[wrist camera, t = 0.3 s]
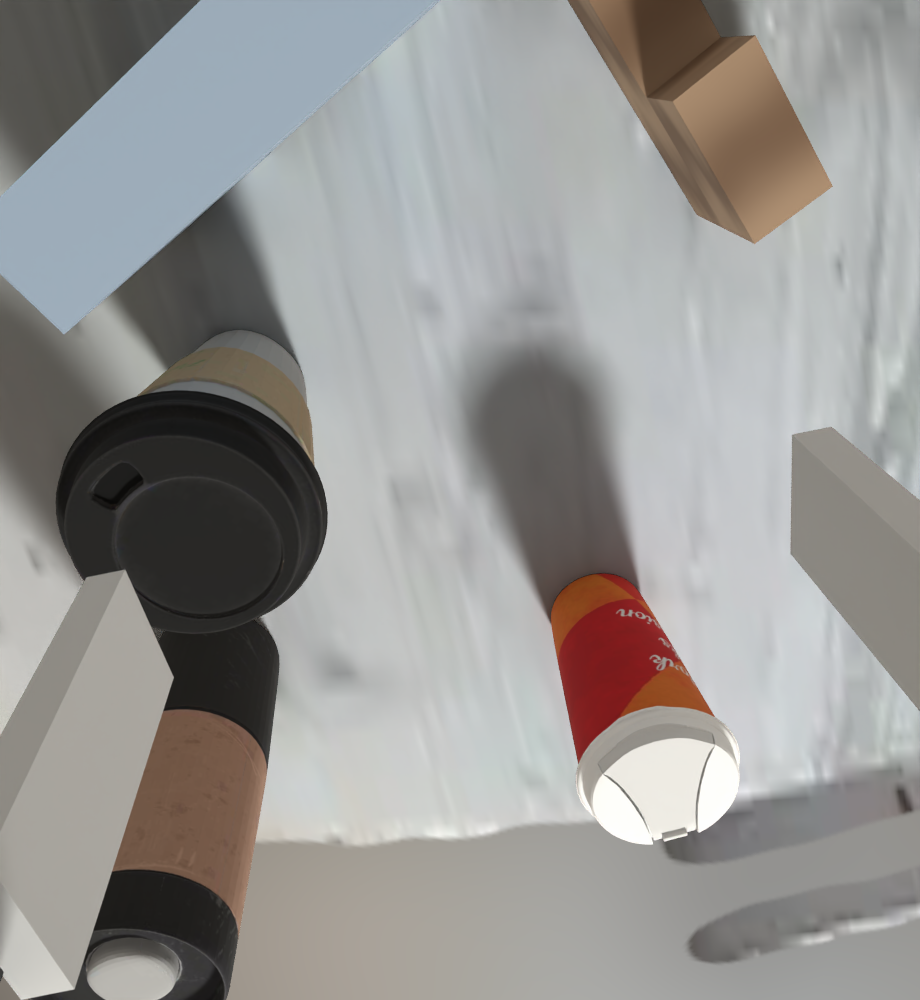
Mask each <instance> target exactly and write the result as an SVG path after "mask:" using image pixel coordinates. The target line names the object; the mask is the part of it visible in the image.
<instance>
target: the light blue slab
mask: <svg viewBox="0 0 920 1000" xmlns="http://www.w3.org/2000/svg"><path fill="white" fill-rule="evenodd" d="M439 1H440V0H200V1H199V2H198V3H197V4H196V5H195V6H194V7H193V8H192V9H191V10H190V11H189V12H188V13H187V14H186V15H185V16H184V17H183V18H182V19H181V20H180V21H179V22H178V23H177V24H176V25H175V26H174V27H173V28H172V29H171V30H170V31H169V32H168V33H167V34H166V35H165V36H164V37H163V38H162V39H161V40H159V41H158V42H157V43H156V44H155V45H154V46H153V47H152V48H151V49H150V50H149V51H148V52H147V53H146V54H145V55H144V56H143V57H142V58H141V59H140V60H139V61H138V62H137V63H136V64H135V65H134V66H133V67H132V68H131V69H130V70H129V71H128V72H127V73H126V74H125V75H124V76H123V77H122V78H121V79H120V80H119V81H118V82H117V83H116V84H115V85H114V86H113V87H112V88H111V89H110V90H109V91H108V92H106V93H105V94H104V95H103V96H102V97H101V98H100V99H99V100H98V101H97V102H96V103H95V104H94V105H93V106H92V107H91V108H90V109H89V110H88V111H87V112H86V113H85V114H84V115H83V116H82V117H81V118H80V119H79V120H78V121H77V122H76V123H75V124H74V125H73V126H72V127H71V128H70V129H69V130H68V131H67V132H66V133H65V134H64V135H63V136H62V137H61V138H60V139H59V140H58V141H57V142H56V143H54V144H53V145H52V146H51V147H50V148H49V149H48V150H47V151H46V152H45V153H44V154H43V155H42V156H41V157H40V158H39V159H38V160H37V161H36V162H35V163H34V164H33V165H32V166H31V167H30V168H29V169H28V170H27V171H26V172H25V173H24V174H23V175H22V176H21V177H20V178H19V179H18V180H17V181H16V182H15V183H14V184H13V185H12V186H11V187H10V188H9V189H8V190H7V191H6V192H5V193H4V194H3V195H1V196H0V274H1V275H2V276H3V277H4V278H5V279H6V280H7V281H8V282H9V283H10V284H11V285H12V286H13V287H14V288H15V289H17V290H18V291H19V292H20V293H21V294H22V295H23V296H24V297H25V298H26V299H27V300H28V301H29V302H30V303H31V304H32V305H33V306H34V307H36V308H37V309H38V310H39V311H40V312H41V313H42V314H43V315H44V316H45V317H46V318H47V319H48V320H49V321H50V322H51V323H52V324H53V325H55V326H56V327H57V328H58V329H59V330H60V331H61V332H62V333H63V334H65V333H66V332H67V331H69V330H70V329H71V328H72V327H73V326H74V325H76V324H77V323H78V322H79V321H80V320H81V319H83V318H84V317H85V316H86V315H87V314H88V313H89V312H91V311H92V310H93V309H94V308H95V307H96V306H98V305H99V304H100V303H101V302H102V301H103V300H104V299H106V298H107V297H108V296H109V295H110V294H111V293H113V292H114V291H115V290H116V289H117V288H118V287H120V286H121V285H122V284H123V283H124V282H125V281H126V280H128V279H129V278H130V277H131V276H132V275H133V274H135V273H136V272H137V271H138V270H139V269H140V268H141V267H143V266H144V265H145V264H146V263H147V262H148V261H150V260H151V259H152V258H153V257H154V256H155V255H156V254H158V253H159V252H160V251H161V250H162V249H163V248H165V247H166V246H167V245H168V244H169V243H170V242H172V241H173V240H174V239H175V238H176V237H177V236H178V235H180V234H181V233H182V232H183V231H184V230H185V229H186V228H187V227H189V226H190V225H191V224H192V223H193V222H194V221H195V220H196V219H197V218H199V217H200V216H201V215H202V214H203V213H204V212H205V211H206V210H207V209H209V208H210V207H211V206H212V205H213V204H214V203H215V202H216V201H217V200H219V199H220V198H221V197H222V196H223V195H224V194H225V193H226V192H227V191H229V190H230V189H231V188H232V187H233V186H234V185H235V184H236V183H237V182H239V181H240V180H241V179H242V178H243V177H244V176H245V175H246V174H247V173H249V172H250V171H251V170H252V169H253V168H254V167H255V166H256V165H257V164H259V163H260V162H261V161H262V160H263V159H264V158H265V157H266V156H267V155H269V154H270V153H271V151H272V150H273V149H275V148H276V147H277V146H278V145H279V144H280V143H281V142H282V141H283V140H285V139H286V138H287V137H288V136H289V135H290V134H291V133H292V132H293V131H295V130H296V129H297V128H298V127H299V126H300V125H301V124H302V123H303V122H305V121H306V120H307V119H308V118H309V117H310V116H311V115H312V114H313V113H315V112H316V111H317V110H318V109H319V108H320V107H321V106H322V105H323V104H325V103H326V102H327V101H328V100H329V99H330V98H331V97H332V96H333V95H335V94H336V93H337V92H338V91H339V90H340V89H341V88H342V87H343V86H345V85H346V84H347V83H348V82H349V81H350V80H351V79H352V78H353V77H355V76H356V75H357V74H359V73H360V72H361V71H362V70H363V69H364V68H365V67H366V66H368V65H369V64H370V63H371V62H372V61H373V60H374V59H375V58H376V57H378V56H379V55H380V54H381V53H382V52H383V51H384V50H385V49H386V48H388V47H389V46H390V45H391V44H392V43H393V42H394V41H395V40H396V39H398V38H399V37H400V36H401V35H402V34H403V33H404V32H405V31H406V30H408V29H409V28H410V27H411V26H412V25H413V24H414V23H415V22H416V21H418V20H419V19H420V18H421V17H422V16H423V15H424V14H425V13H426V12H428V11H429V10H430V9H431V8H432V7H433V6H434V5H435V4H436V3H438V2H439Z"/></svg>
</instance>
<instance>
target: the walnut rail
mask: <svg viewBox="0 0 920 1000" xmlns="http://www.w3.org/2000/svg"><path fill="white" fill-rule="evenodd" d="M568 2H569V3H570V5H571V7H572V8H573V10H574V12H575V13H576V15H577V17H578V18H579V20H580V22H581V23H582V25H583V26H584V28H585V30H586V31H587V33H588V35H589V36H590V38H591V40H592V41H593V43H594V45H595V46H596V48H597V50H598V51H599V53H600V55H601V56H602V58H603V60H604V61H605V63H606V65H607V66H608V68H609V70H610V71H611V73H612V75H613V76H614V78H615V80H616V81H617V83H618V85H619V86H620V88H621V90H622V91H623V93H624V95H625V96H626V98H627V100H628V101H629V103H630V105H631V106H632V108H633V110H634V111H635V113H636V115H637V116H638V118H639V119H640V121H641V123H642V124H643V126H644V128H645V129H646V131H647V133H648V134H649V136H650V138H651V139H652V141H653V143H654V144H655V146H656V148H657V149H658V151H659V153H660V154H661V156H662V158H663V159H664V161H665V163H666V164H667V166H668V168H669V169H670V171H671V173H672V174H673V176H674V178H675V179H676V181H677V183H678V184H679V186H680V188H681V189H682V191H683V193H684V194H685V196H686V198H687V199H688V201H689V203H690V204H691V206H692V207H693V209H694V211H695V212H696V214H697V215H698V216H700V217H702V218H704V219H706V220H708V221H710V222H712V223H714V224H716V225H718V226H720V227H722V228H724V229H726V230H728V231H730V232H732V233H734V234H736V235H738V236H740V237H742V238H744V239H746V240H748V241H750V242H752V243H754V244H755V243H756V242H758V241H759V240H760V239H762V238H763V237H765V236H766V235H767V234H769V233H770V232H771V231H773V230H774V229H775V228H777V227H778V226H779V225H781V224H782V223H784V222H785V221H786V220H788V219H789V218H790V217H792V216H793V215H794V214H796V213H797V212H798V211H800V210H801V209H803V208H804V207H805V206H807V205H808V204H809V203H811V202H812V201H813V200H815V199H816V198H817V197H819V196H820V195H822V194H823V193H824V192H826V191H827V190H828V189H830V188H831V187H832V184H831V182H830V180H829V178H828V176H827V174H826V172H825V170H824V168H823V167H822V165H821V163H820V161H819V159H818V157H817V155H816V153H815V151H814V149H813V147H812V145H811V143H810V141H809V139H808V137H807V135H806V133H805V131H804V129H803V127H802V125H801V124H800V122H799V120H798V118H797V116H796V114H795V112H794V110H793V108H792V106H791V104H790V102H789V100H788V98H787V96H786V94H785V92H784V90H783V88H782V86H781V84H780V83H779V81H778V79H777V77H776V75H775V73H774V71H773V69H772V67H771V65H770V63H769V61H768V59H767V57H766V55H765V53H764V51H763V49H762V47H761V45H760V43H759V42H758V40H757V38H756V36H755V35H753V36H737V37H720V35H719V33H718V31H717V30H716V28H715V26H714V24H713V22H712V20H711V18H710V16H709V14H708V13H707V11H706V9H705V7H704V5H703V3H702V1H701V0H568Z"/></svg>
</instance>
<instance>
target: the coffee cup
mask: <svg viewBox="0 0 920 1000" xmlns="http://www.w3.org/2000/svg"><path fill="white" fill-rule="evenodd" d="M327 514H328V513H327V503H326V497H325V492H324V489H323V485H322V482H321V480H320V477H319V475H318V472H317V471H316V469H315V467H314V453H313V438H312V424H311V419H310V414H309V410H308V407H307V398H306V387H305V382H304V377H303V375H302V372H301V370H300V368H299V366H298V365H297V363H296V362H295V360H294V359H293V357H292V356H291V355H290V354H289V353H288V352H287V351H286V350H285V349H284V348H283V347H282V346H280V345H279V344H278V343H276V342H275V341H274V340H272V339H270V338H268V337H266V336H264V335H262V334H259V333H256V332H253V331H246V330H233V331H227V332H224V333H221V334H218V335H216V336H214V337H213V338H211V339H209V340H208V341H206V342H205V343H204V344H203V345H201V346H200V347H199V348H198V349H197V350H196V351H194V352H193V353H192V354H189V355H188V356H186V357H184V358H183V359H181V360H179V361H178V362H176V363H175V364H174V365H173V366H172V367H170V368H169V369H168V370H167V371H166V372H165V373H163V374H162V375H161V376H160V377H159V378H158V379H156V380H155V381H154V382H153V383H152V384H151V385H149V386H148V387H147V388H146V389H145V390H144V391H142V392H141V393H140V394H139V395H138V396H137V397H134V398H131V399H128V400H126V401H124V402H121V403H119V404H117V405H115V406H113V407H112V408H110V409H108V410H106V411H105V412H103V413H102V414H101V415H99V416H98V417H96V418H95V419H94V420H93V421H92V422H91V423H90V424H89V425H87V427H86V428H85V429H84V430H83V431H82V432H81V433H80V434H79V436H78V437H77V439H76V440H75V441H74V443H73V445H72V446H71V448H70V450H69V452H68V454H67V456H66V459H65V461H64V464H63V467H62V471H61V475H60V478H59V481H58V486H57V492H56V515H57V521H58V526H59V530H60V534H61V536H62V539H63V542H64V544H65V547H66V549H67V551H68V553H69V555H70V556H71V559H72V561H73V563H74V565H75V567H76V569H77V570H78V572H79V574H80V576H81V577H82V578H83V580H84V581H85V579H86V577H91V576H96V575H101V574H106V573H111V572H116V571H121V570H126V573H127V575H128V577H129V579H130V581H131V584H132V586H133V588H134V590H135V593H136V595H137V597H138V599H139V601H140V604H141V606H142V608H143V610H144V612H145V615H146V617H147V619H148V621H149V624H150V626H151V627H153V628H157V629H161V630H165V631H170V632H177V633H190V634H198V633H212V632H218V631H223V630H227V629H231V628H234V627H237V626H240V625H242V624H245V623H247V622H249V621H251V620H253V619H255V618H258V617H260V616H262V615H264V614H266V613H268V612H270V611H272V610H273V609H275V608H277V607H278V606H280V605H281V604H282V603H284V602H285V601H286V600H288V599H289V598H290V597H291V596H292V595H293V594H294V593H295V592H296V591H297V590H298V589H299V588H300V587H301V585H302V584H303V583H304V581H305V580H306V579H307V577H308V575H309V574H310V572H311V570H312V568H313V566H314V565H315V563H316V561H317V559H318V557H319V555H320V553H321V550H322V547H323V544H324V540H325V536H326V530H327Z"/></svg>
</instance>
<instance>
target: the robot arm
mask: <svg viewBox="0 0 920 1000" xmlns="http://www.w3.org/2000/svg"><path fill="white" fill-rule="evenodd" d="M791 555H792V556H793V557H794V558H795V560H796V561H797V562H798V563H799V564H800V566H801V567H802V568H803V569H804V571H805V572H806V573H807V574H808V575H809V577H810V578H811V579H812V580H813V581H814V583H815V584H816V585H817V586H818V588H819V589H820V590H821V591H822V592H823V594H824V595H825V596H826V597H827V599H828V600H829V601H830V602H831V603H832V605H833V606H834V607H835V608H836V610H837V611H838V612H839V613H840V614H841V616H842V617H843V618H844V619H845V621H846V622H847V623H848V624H849V625H850V627H851V628H852V629H853V630H854V631H855V633H856V634H857V635H858V636H859V638H860V639H861V640H862V641H863V642H864V644H865V645H866V646H867V647H868V649H869V650H870V651H871V652H872V653H873V655H874V656H875V657H876V658H877V660H878V661H879V662H880V663H881V664H882V666H883V667H884V668H885V669H886V671H887V672H888V673H889V674H890V675H891V677H892V678H893V679H894V680H895V681H896V683H897V684H898V685H899V686H900V688H901V689H902V690H903V691H904V692H905V694H906V695H907V696H908V697H909V699H910V700H911V701H912V702H913V703H914V705H915V706H916V707H917V708H918V710H919V711H920V500H919V499H917V498H916V497H915V496H914V495H913V494H911V493H910V492H909V491H908V490H907V489H905V488H904V487H903V486H902V485H901V484H899V483H898V482H897V481H896V480H895V479H893V478H892V477H891V476H890V475H889V474H887V473H886V472H885V471H884V470H883V469H881V468H880V467H879V466H878V465H877V464H875V463H874V462H873V461H872V460H871V459H869V458H868V457H867V456H866V455H865V454H863V453H862V452H861V451H860V450H859V449H857V448H856V447H855V446H854V445H853V444H851V443H850V442H849V441H848V440H847V439H845V438H844V437H843V436H842V435H841V434H839V433H838V432H837V431H836V430H835V429H833V428H832V427H828V428H823V429H818V430H813V431H808V432H803V433H799V434H794V435H792V487H791ZM173 678H174V677H173V675H172V672H171V670H170V668H169V666H168V664H167V661H166V659H165V657H164V655H163V652H162V650H161V648H160V646H159V644H158V641H157V639H156V637H155V635H154V632H153V630H152V628H151V626H150V624H149V621H148V619H147V617H146V615H145V612H144V610H143V608H142V606H141V604H140V601H139V599H138V597H137V595H136V593H135V590H134V588H133V586H132V584H131V581H130V579H129V577H128V575H127V573H126V570H121V571H116V572H111V573H106V574H101V575H96V576H91V577H86V579H85V581H84V583H83V585H82V587H81V588H80V590H79V592H78V594H77V596H76V598H75V599H74V601H73V603H72V605H71V607H70V609H69V611H68V612H67V614H66V616H65V618H64V620H63V622H62V623H61V625H60V627H59V629H58V631H57V633H56V634H55V636H54V638H53V640H52V642H51V644H50V646H49V647H48V649H47V651H46V653H45V655H44V657H43V658H42V660H41V662H40V664H39V666H38V668H37V669H36V671H35V673H34V675H33V677H32V679H31V681H30V682H29V684H28V686H27V688H26V690H25V692H24V693H23V695H22V697H21V699H20V701H19V703H18V704H17V706H16V708H15V710H14V712H13V714H12V716H11V717H10V719H9V721H8V723H7V725H6V727H5V728H4V730H3V732H2V734H1V736H0V981H1V978H2V976H4V978H5V979H6V980H7V982H8V983H9V984H10V986H11V987H12V989H13V990H14V991H15V993H16V994H17V995H18V996H19V998H20V999H21V1000H23V999H28V998H33V997H38V996H43V995H48V994H53V993H58V992H63V991H68V990H73V989H75V986H76V983H77V980H78V977H79V973H80V970H81V967H82V964H83V961H84V958H85V955H86V951H87V948H88V945H89V942H90V939H91V936H92V933H93V929H94V926H95V923H96V920H97V917H98V914H99V911H100V907H101V904H102V901H103V898H104V895H105V892H106V889H107V885H108V882H109V879H110V876H111V873H112V870H113V867H114V864H115V860H116V857H117V854H118V851H119V848H120V845H121V842H122V838H123V835H124V832H125V829H126V826H127V823H128V820H129V816H130V813H131V810H132V807H133V804H134V801H135V798H136V794H137V791H138V788H139V785H140V782H141V779H142V776H143V772H144V769H145V766H146V763H147V760H148V757H149V754H150V750H151V747H152V744H153V741H154V738H155V735H156V732H157V729H158V725H159V722H160V719H161V716H162V713H163V710H164V707H165V703H166V700H167V697H168V694H169V691H170V688H171V685H172V681H173Z"/></svg>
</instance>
